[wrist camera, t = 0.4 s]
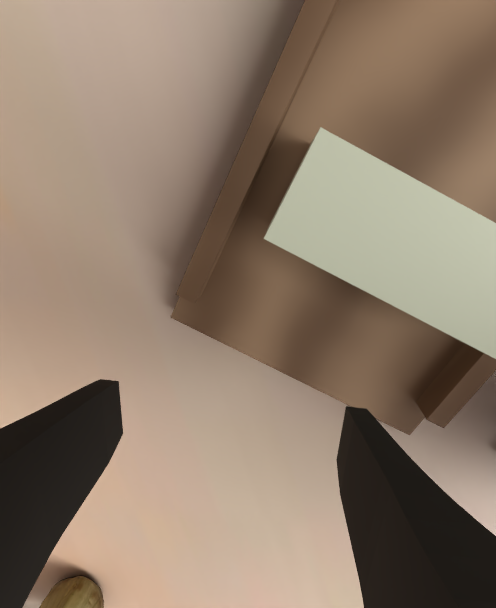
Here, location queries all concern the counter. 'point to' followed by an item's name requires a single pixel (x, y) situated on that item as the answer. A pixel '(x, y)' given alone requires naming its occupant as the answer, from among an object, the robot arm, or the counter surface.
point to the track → (388, 148)
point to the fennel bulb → (74, 594)
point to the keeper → (392, 239)
